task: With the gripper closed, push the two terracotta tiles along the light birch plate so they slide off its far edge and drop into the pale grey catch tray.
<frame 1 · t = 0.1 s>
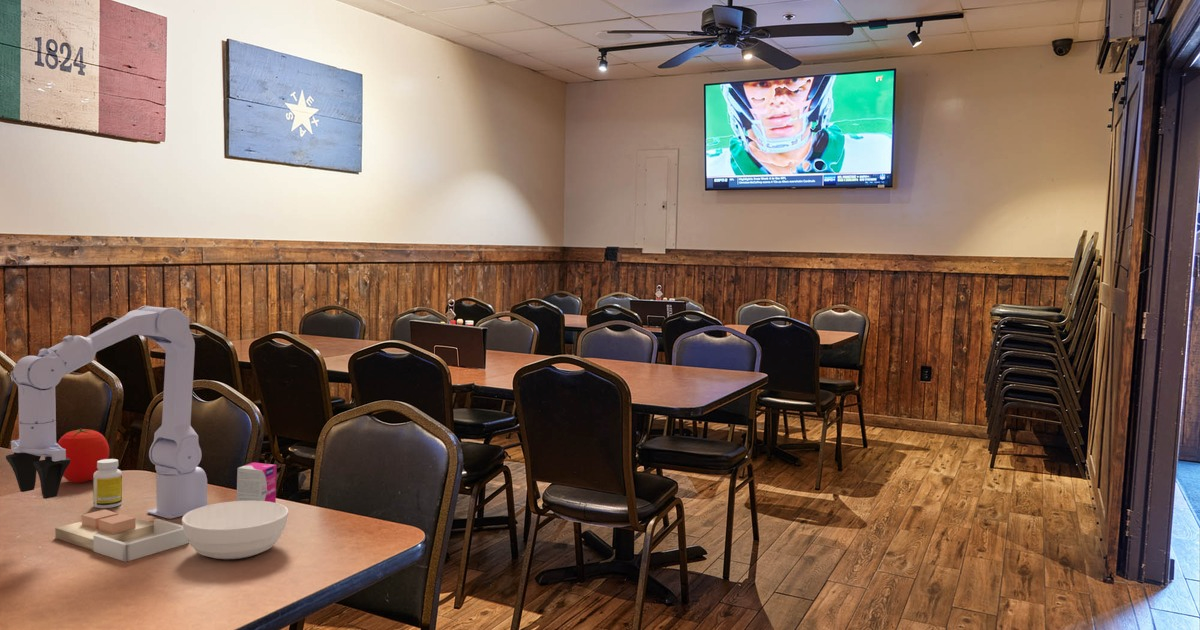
hand: (38, 494, 160), 10 cm above the table, fingers open, 7 cm apart
tile 2: (117, 529, 166), point 2 cm above the table, touching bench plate
supplement bottle: (107, 506, 188), on the table
bowl: (236, 553, 162), on the table
catch tray: (126, 542, 165), on the table
supplement box: (256, 520, 181), on the table
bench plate: (106, 536, 168), on the table
tile 1: (100, 524, 169), point 2 cm above the table, touching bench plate
tomato: (81, 482, 206), on the table
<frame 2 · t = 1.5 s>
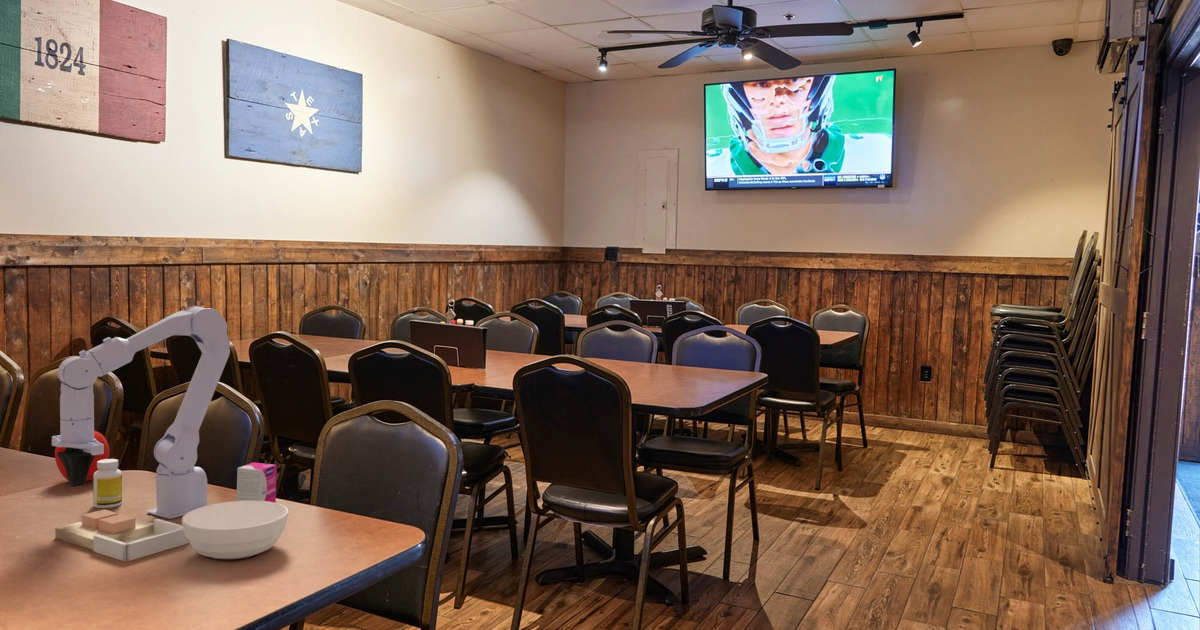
hand: (77, 485, 172), 8 cm above the table, fingers closed
nothing on the table moved.
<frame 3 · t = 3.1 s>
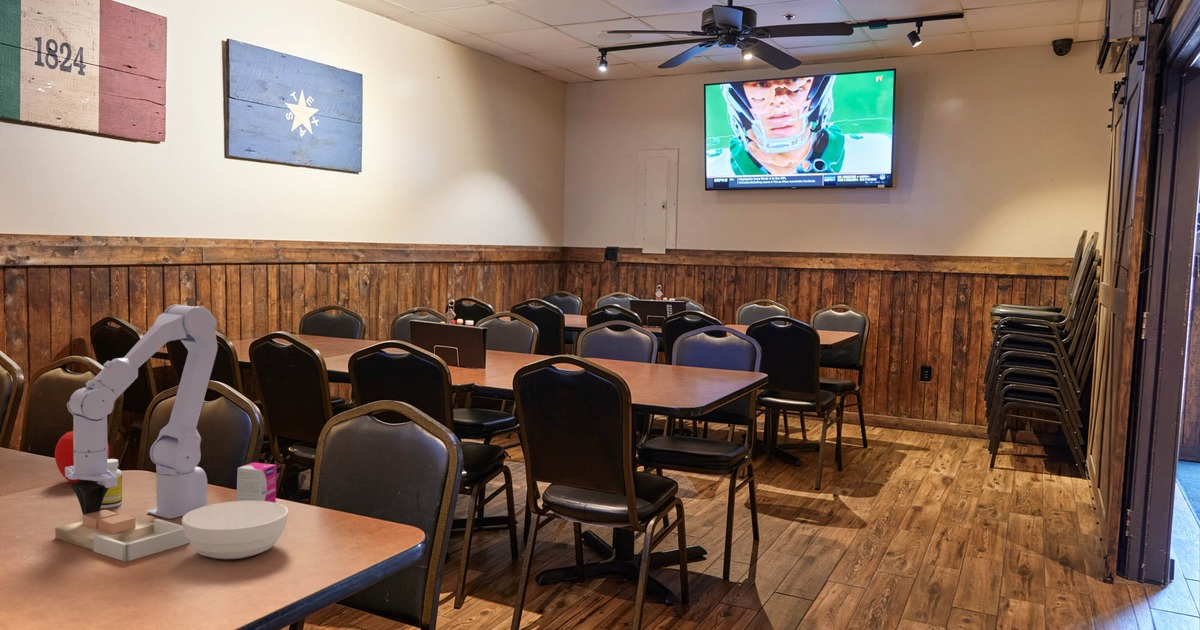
hand: (91, 517, 170), 3 cm above the table, fingers closed
tile 1: (100, 524, 169), point 2 cm above the table, touching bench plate, gripper
everything else where it was.
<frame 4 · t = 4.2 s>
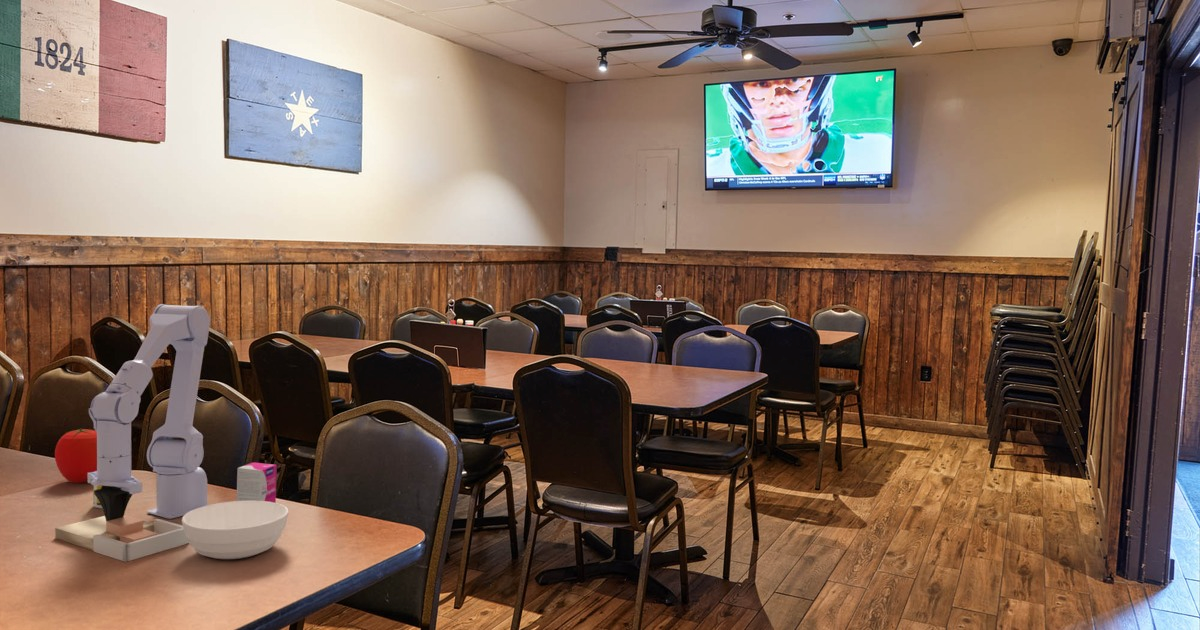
hand: (114, 524, 167), 3 cm above the table, fingers closed
tile 2: (138, 544, 163), resting on catch tray, touching tile 1
tile 1: (124, 531, 165), point 2 cm above the table, touching gripper, tile 2
everything else where it was.
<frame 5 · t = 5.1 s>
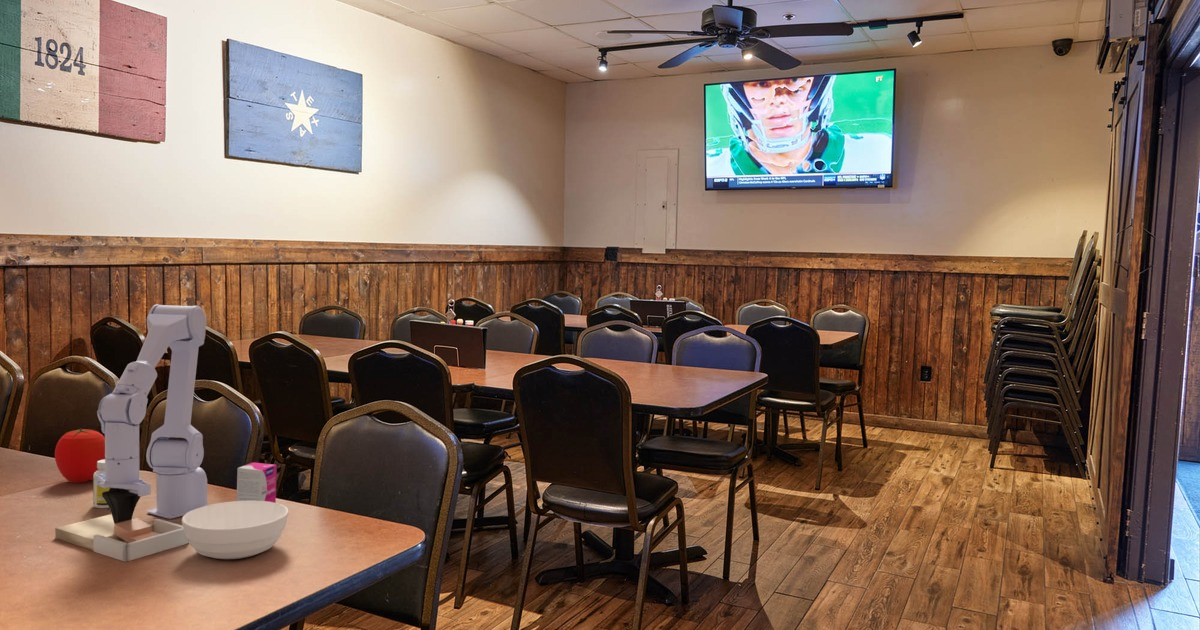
hand: (122, 527, 165), 3 cm above the table, fingers closed
tile 2: (146, 547, 162), resting on catch tray, touching tile 1
tile 1: (132, 534, 164), point 2 cm above the table, tilted 10°, touching gripper, tile 2
everything else where it was.
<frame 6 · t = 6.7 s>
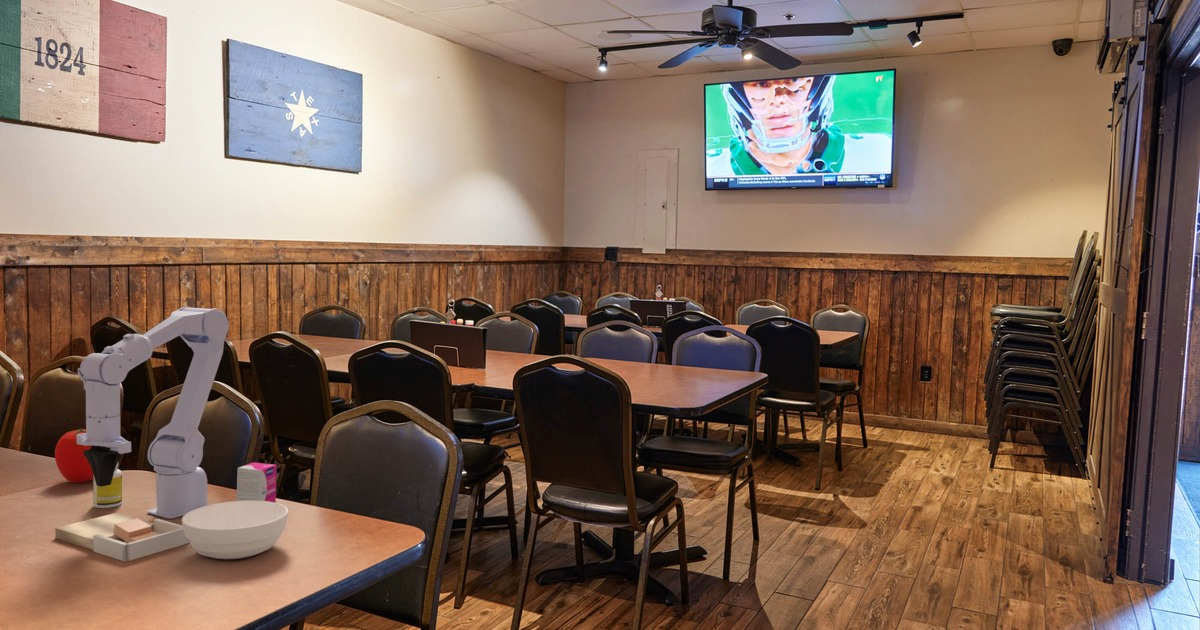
hand: (103, 485, 168), 10 cm above the table, fingers closed
tile 1: (132, 535, 164), point 2 cm above the table, tilted 10°, touching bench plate, tile 2
everything else where it was.
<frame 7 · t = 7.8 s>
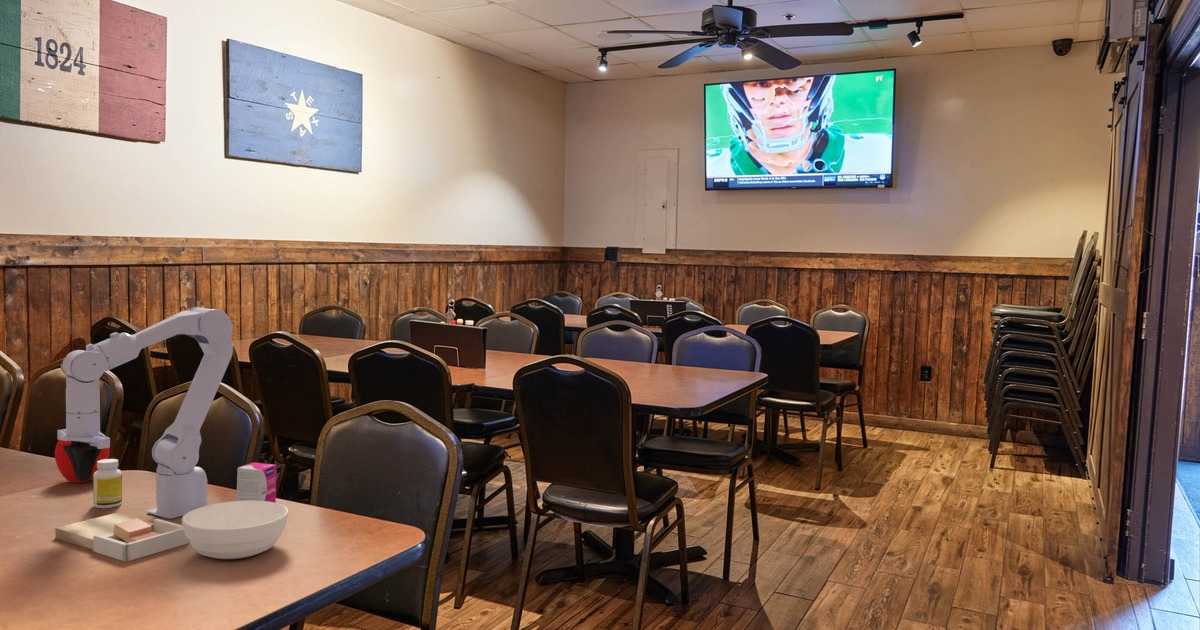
hand: (83, 479, 171), 10 cm above the table, fingers closed
nothing on the table moved.
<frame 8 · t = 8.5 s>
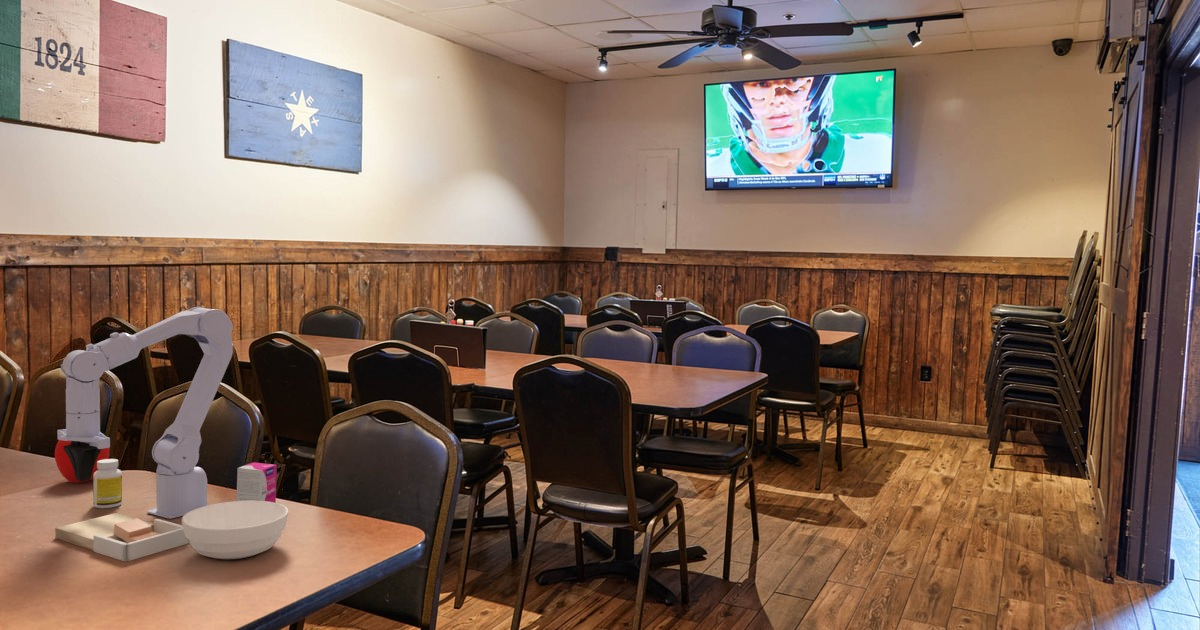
hand: (83, 479, 171), 10 cm above the table, fingers closed
nothing on the table moved.
at the end: tile 1 inside the target area (3.1 cm from its centre), point 1.7 cm above the table; tile 2 inside the target area (1.5 cm from its centre), resting on catch tray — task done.
